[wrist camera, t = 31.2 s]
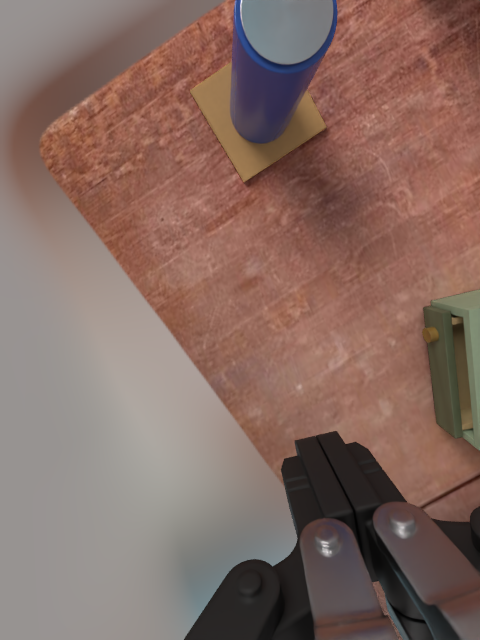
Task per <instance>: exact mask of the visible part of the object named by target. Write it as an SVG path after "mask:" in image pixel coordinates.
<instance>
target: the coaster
mask: <svg viewBox="0 0 480 640" xmlns="http://www.w3.org/2000/svg"><path fill="white" fill-rule="evenodd" d="M231 69H232V62H230V63H229V64H227V65H226V66H224V67H223V68H222V69H220V70H219V71H217V72H216V73H214V74H213V75H212V76H210V77H209V78H207V79H206V80H204V81H203V82H202V83H200V84H199V85H197V86H196V87H194V88H193V89H191V90H190V93H191V95H192V96H193V98H194V100H195V101H196V103H197V105H198V106H199V108H200V110H201V111H202V113H203V115H204V116H205V118H206V120H207V122H208V123H209V125H210V127H211V128H212V130H213V132H214V133H215V135H216V137H217V138H218V140H219V142H220V143H221V145H222V147H223V149H224V150H225V152H226V154H227V155H228V157H229V159H230V160H231V162H232V164H233V165H234V167H235V169H236V170H237V172H238V174H239V176H240V177H241V179H242V181H243V182H246V181H247V180H249V179H250V178H252V177H254V176H255V175H257V174H258V173H260V172H261V171H263V170H264V169H266V168H267V167H269V166H270V165H272V164H273V163H275V162H276V161H278V160H279V159H281V158H282V157H284V156H285V155H287V154H288V153H290V152H291V151H293V150H294V149H296V148H297V147H299V146H300V145H302V144H303V143H305V142H306V141H308V140H309V139H311V138H312V137H314V136H315V135H317V134H318V133H320V132H321V131H323V130H324V129H326V125H325V123H324V121H323V119H322V117H321V115H320V113H319V111H318V109H317V107H316V106H315V104H314V102H313V100H312V98H311V96H310V94H309V92H308V90H306V92H305V94H304V96H303V98H302V100H301V102H300V103H299V105H298V107H297V109H296V111H295V113H294V115H293V117H292V119H291V121H290V123H289V125H288V126H287V128H286V130H285V131H284V132H283V134H282V135H281V136H280V137H278V138H277V139H275V140H274V141H271V142H268V143H263V144H259V143H253V142H250V141H248V140H246V139H245V138H243V137H242V136H241V135H240V134H239V133H238V132H237V130H236V129H235V127H234V125H233V123H232V120H231V116H230V92H231Z"/></svg>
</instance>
